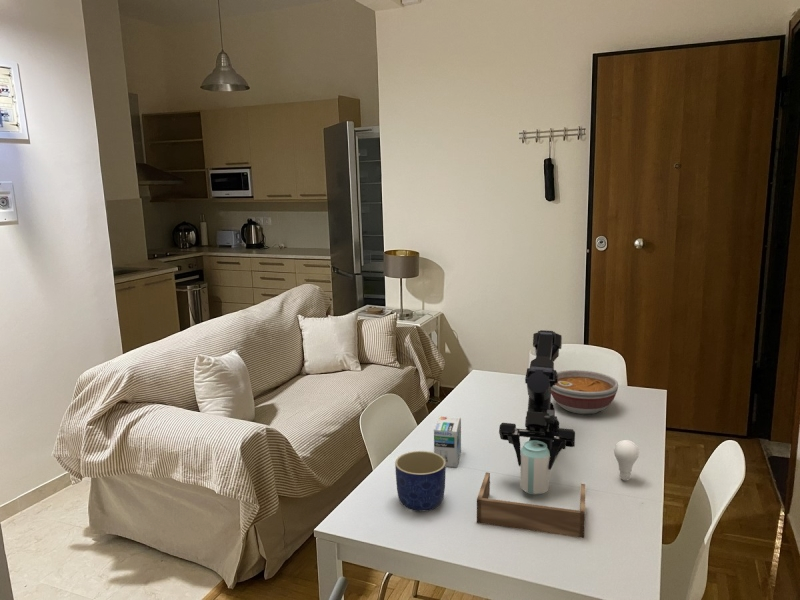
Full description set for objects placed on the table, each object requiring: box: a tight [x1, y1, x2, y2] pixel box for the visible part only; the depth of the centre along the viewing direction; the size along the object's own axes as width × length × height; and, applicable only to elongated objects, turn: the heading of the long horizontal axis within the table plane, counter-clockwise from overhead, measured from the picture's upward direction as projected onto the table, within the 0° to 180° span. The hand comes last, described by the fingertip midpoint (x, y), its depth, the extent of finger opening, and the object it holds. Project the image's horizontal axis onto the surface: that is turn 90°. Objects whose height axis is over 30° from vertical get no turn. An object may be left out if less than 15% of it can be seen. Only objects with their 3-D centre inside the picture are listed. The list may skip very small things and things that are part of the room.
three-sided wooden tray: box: [476, 471, 586, 539], centre depth 146 cm, size 14×24×6 cm, turn 73°
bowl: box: [551, 369, 619, 415], centre depth 209 cm, size 23×23×10 cm
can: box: [519, 440, 550, 495], centre depth 154 cm, size 7×7×12 cm
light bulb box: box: [433, 415, 462, 468], centre depth 175 cm, size 11×7×11 cm, turn 168°
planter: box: [394, 450, 447, 512], centre depth 152 cm, size 12×12×11 cm
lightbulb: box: [613, 439, 640, 481], centre depth 160 cm, size 6×6×11 cm
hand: (534, 467), depth 153 cm, fingers closed on can, 7 cm apart
